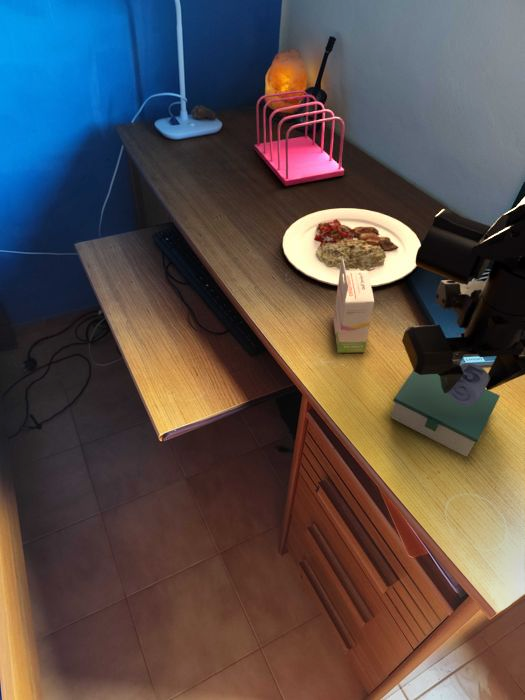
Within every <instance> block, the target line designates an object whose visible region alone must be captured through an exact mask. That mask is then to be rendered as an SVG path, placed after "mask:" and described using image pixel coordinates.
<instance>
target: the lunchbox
mask: <svg viewBox="0 0 525 700" xmlns="http://www.w3.org/2000/svg"><path fill="white" fill-rule="evenodd" d="M500 396H501V395H500V394H497V393H496V392H493V391H491V390H487V389H486V388H485V390H484V391H483V393H482V395H481V397H480V398H479V400H478V402H477V403H476V404H475V405H463V404H460V403H457V402H456V401H454V400H453V399H452V398H451V397H450V396H449V395H448V393H444V392H443V390H442V387H441V380H440V376H439V375H438V374H428V375H419V374H418V373H416V372H414V370H413V369H412V371H411V372H410V374H409V375H408V377H407V378H406V379H405V382H403V384H402V386H401V387H400V389H399V390H398V392H397V393H396V394H395V396H394V397H393V402H394V404H393V407H392V410H391V414H390V419H392V420H395V421H396V422H399V423H400V424H403V425H404V426H406V427H408V428H410V429H412V430H413V431H416V432H418V433H420V434H422V435H423V436H425V437H427V438H429V439H431V440H433V441H435V442H436V443H439V444H441V445H442V446H445V447H447V448H449V449H450V450H452V451H454V452H455V453H458V454H459V455H462V456H463V457H466V458H467V457H468V456H469V454H470V452H471V451H472V449H473V447H474V445H475V443H476V444H477V443H478V442H479V440H480V437H481V435H482V434H483V432H484V430H485V427H486V425H487V423H488V421H489V419H490V417H491V415H492V413H493V411H494V409H495V407H496V405H497V403H498V401H499V399H500Z"/></svg>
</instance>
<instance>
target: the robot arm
mask: <svg viewBox="0 0 525 700" xmlns="http://www.w3.org/2000/svg"><path fill="white" fill-rule="evenodd" d="M491 262H493V263H492V265H491V268H490V270H489V272H488V275H487V277H486V279H485V280H480V279H481V277H482V276H483V274H484V273H485V272H486V270H487V268H488V266H489V264H490V263H491ZM415 263H416V265H417V266H416V267H418V268H421V269H423V270H426V271H429V272H432V274H433V273H434V274H436V275H438V276H441V277H443V278H446V279H445V280H441V281H440V283H439V285H438V287H437V290H436V294H435V301H436V304H437V305H438V306H439V307H440V308H442V309H443V310H448V309H449V310H452V311H453V312H455V313H456V314H457V315H458V316H457V318H456V323H457V326H458V328H459V329H464V331H463V332H462V333H460V335H459V336H456V337H455V336H454V337H446V335H445V333H444V331H443V329H442V327H441V324H432V325H431V324H430V325H416V326H415V325H414V326H407V327H406V329H405V331H404V333H403V337H402V340H401V342H402V345H403V347H404V348H405V351H406V354H407V357H408V360H409V362H410V365H411V367H412V371H413V370H414V372H416V373H418V374H419V375H428V374H438V375H439V376H440V380H441V387H442V390H443V392H444V393H447V392H449V391H450V390H451V389H452V388H453V386H454V385H455V384H456V383H457V382H458V380H459V379H460V378H461V377H462V376H463V374H464V372H463V370H462V368H461V366H460V364H461V362H462V361H463V359H464V358H466V357H467V358H468V357H479V358H489V357H495V358H494V360H493V362H492V364H491V366H490V368H489V370H488V372H487V373H488V375H489V377H490V380H489V382H488V384H487V386H486V388H485V389H487V390H489V391H491V390H493V389H495V388H497V387H500V386H501V385H504V384H506V383H508V382H511V381H513V380H515V379H517V378H520V377H523V376H525V196H524V197H523V198H522V199H521V201H520V202H519V203H518V204H517V205H516V207H514V208H511V210H509V211H507V212H506V213H503V214H502V215H500V216H499V218H497V220H496V221H495V222H494V223H493V224H492V226H491V225H488V224H484V223H482V222H478V221H476V220H473V219H471V218H467V217H464V216H461V215H459V214H458V213H456V212H455V211H452V210H449V209H446V208H443V209H441V211H439V213H437V214H436V215H435V216H434V219H433V221H432V225H431V226H430V228H429V230H428V231H427V232H426V234H425V236H424V238H423V241H422V243H421V246H420V247H419V248H418V251H417V254H416V261H415ZM472 279H474V280H472Z"/></svg>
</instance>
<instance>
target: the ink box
mask: <svg viewBox="0 0 525 700" xmlns="http://www.w3.org/2000/svg"><path fill="white" fill-rule="evenodd" d="M374 305H375V297H374V292H373V287H371V284H370V279H369V275H368V272H367V271H346V270H345V265H344V260H343V257H342V261H341V266H340V273H339V281H338V286H337V291H336V299H335V306H334V314H333V328H334V334H335V335H334V336H335V343H336V351H337V353H338V354H344V353H345V354H347V353H350V354H351V353H365V351H366V345H367V340H368V335H369V329H370V323H371V319H372V315H373V310H374Z"/></svg>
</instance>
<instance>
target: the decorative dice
mask: <svg viewBox="0 0 525 700" xmlns="http://www.w3.org/2000/svg"><path fill="white" fill-rule="evenodd" d="M460 366H461V368H462V370H463V372H464V374H463V376H462V377H461V378H460V379H459V380H458V382H457V383H456V384H455V385H454V386H453V388H452V389H451V390H450V391H449V392H447V393H448V395H449V396H450V397H451V398H452V399H453V400H454V401H456V402H457V403H460V404H463V405H475V404H476V403H477V402H478V400H479V398H480V397H481V395H482V393H483V391H484V390H485V389H486V386H487V384H488V382H489V380H490V377H489V375H488V372H487V371H486V370H485V368H483V367H482V366H481V365H478V364H475V363H471V362H465V363H460Z"/></svg>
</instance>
